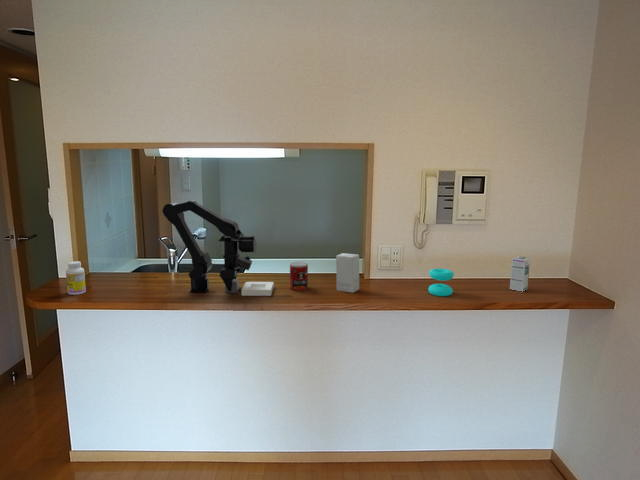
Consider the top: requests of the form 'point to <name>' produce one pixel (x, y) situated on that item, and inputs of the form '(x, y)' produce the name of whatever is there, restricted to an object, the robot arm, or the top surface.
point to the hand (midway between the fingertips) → (231, 288)
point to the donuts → (441, 288)
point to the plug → (233, 287)
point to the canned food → (298, 276)
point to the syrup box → (519, 273)
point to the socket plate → (257, 289)
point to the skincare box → (347, 272)
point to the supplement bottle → (75, 278)
